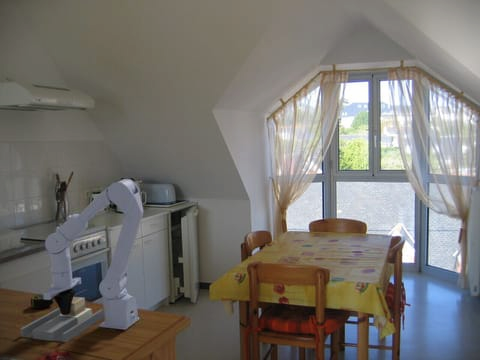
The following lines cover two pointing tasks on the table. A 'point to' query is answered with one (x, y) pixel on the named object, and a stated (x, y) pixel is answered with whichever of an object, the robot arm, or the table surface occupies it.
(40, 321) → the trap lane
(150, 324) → the table surface
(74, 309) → the maple block
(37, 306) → the tape measure
